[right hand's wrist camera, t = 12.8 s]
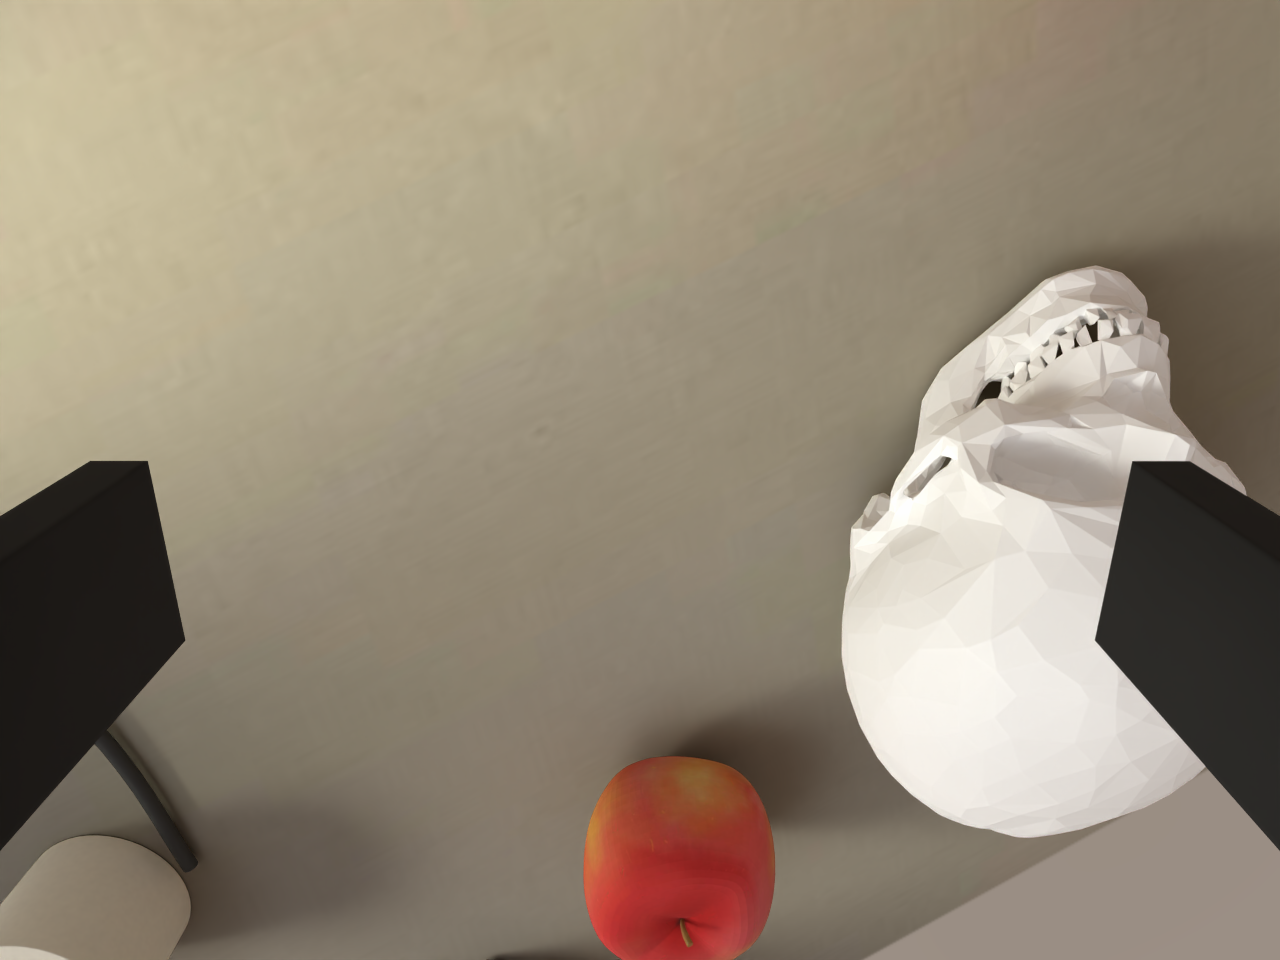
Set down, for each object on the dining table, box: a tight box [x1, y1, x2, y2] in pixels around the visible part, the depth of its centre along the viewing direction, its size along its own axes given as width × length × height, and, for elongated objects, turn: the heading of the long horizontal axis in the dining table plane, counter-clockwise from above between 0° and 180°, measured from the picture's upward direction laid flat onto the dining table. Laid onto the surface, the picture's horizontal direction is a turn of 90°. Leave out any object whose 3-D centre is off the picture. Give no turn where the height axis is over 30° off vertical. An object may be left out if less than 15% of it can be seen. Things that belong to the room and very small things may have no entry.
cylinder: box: [0, 835, 191, 960], centre depth 48 cm, size 9×9×7 cm
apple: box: [584, 756, 775, 960], centre depth 44 cm, size 10×10×10 cm
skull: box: [842, 265, 1247, 838], centre depth 35 cm, size 13×22×16 cm, turn 169°
